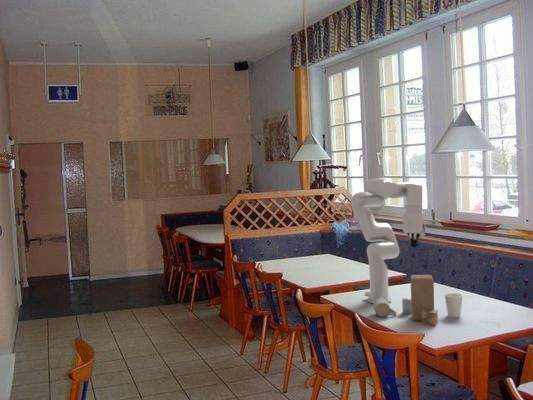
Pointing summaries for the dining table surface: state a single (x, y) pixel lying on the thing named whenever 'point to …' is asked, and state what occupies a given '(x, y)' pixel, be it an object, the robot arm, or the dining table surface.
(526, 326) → the dining table surface
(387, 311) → the ceramic mug
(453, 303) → the dixie cup
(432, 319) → the walnut cube
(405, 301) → the bluegrey post
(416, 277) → the block
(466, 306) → the dining table surface
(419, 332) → the dining table surface
